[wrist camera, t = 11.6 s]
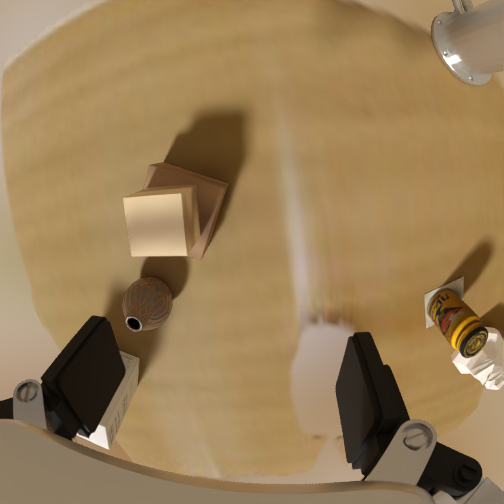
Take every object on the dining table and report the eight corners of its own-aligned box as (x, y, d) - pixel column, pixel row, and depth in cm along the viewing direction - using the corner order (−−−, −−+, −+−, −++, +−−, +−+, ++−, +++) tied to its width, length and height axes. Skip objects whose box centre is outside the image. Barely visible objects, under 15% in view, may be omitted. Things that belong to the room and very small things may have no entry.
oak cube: (146, 188, 31) (123, 197, 25) (196, 184, 30) (181, 193, 25) (152, 237, 33) (131, 256, 27) (200, 236, 32) (187, 255, 27)
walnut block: (164, 162, 34) (149, 165, 30) (229, 182, 35) (223, 188, 30) (148, 224, 38) (133, 236, 33) (208, 246, 38) (200, 260, 34)
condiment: (423, 294, 39) (460, 337, 28) (463, 275, 38) (503, 311, 26) (425, 327, 41) (456, 372, 30) (462, 309, 40) (497, 347, 29)
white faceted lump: (461, 371, 48) (472, 420, 36) (443, 337, 46) (456, 392, 34) (505, 345, 41) (522, 392, 29) (492, 305, 39) (517, 356, 27)
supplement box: (97, 369, 49) (62, 428, 33) (96, 339, 46) (52, 400, 30) (139, 387, 50) (110, 451, 34) (141, 357, 46) (105, 428, 31)
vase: (186, 290, 40) (168, 324, 32) (163, 318, 43) (144, 353, 34) (148, 261, 39) (122, 289, 31) (128, 292, 41) (103, 323, 33)
